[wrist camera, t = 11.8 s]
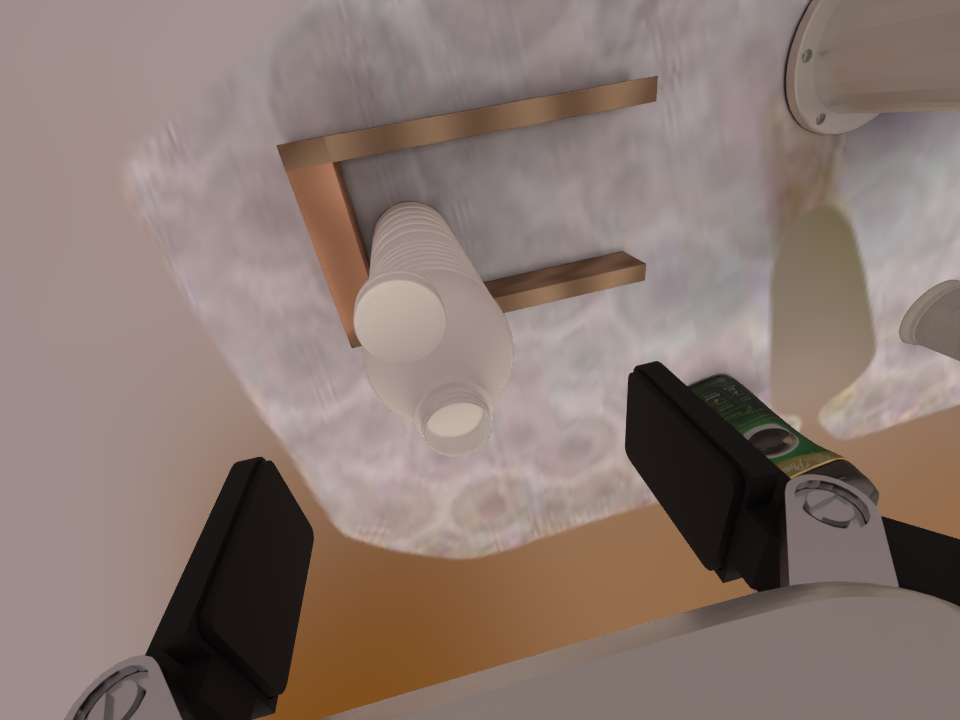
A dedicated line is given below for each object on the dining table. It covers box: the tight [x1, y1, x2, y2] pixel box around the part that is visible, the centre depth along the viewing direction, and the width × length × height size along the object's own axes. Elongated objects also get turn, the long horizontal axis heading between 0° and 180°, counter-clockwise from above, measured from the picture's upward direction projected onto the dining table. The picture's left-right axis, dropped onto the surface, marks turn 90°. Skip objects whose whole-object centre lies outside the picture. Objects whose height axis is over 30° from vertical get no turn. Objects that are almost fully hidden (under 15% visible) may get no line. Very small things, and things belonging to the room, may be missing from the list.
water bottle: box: [353, 202, 514, 456], centre depth 23 cm, size 9×6×25 cm
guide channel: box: [277, 76, 658, 348], centre depth 33 cm, size 26×15×4 cm, turn 98°
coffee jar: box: [690, 376, 879, 506], centre depth 43 cm, size 10×8×19 cm
